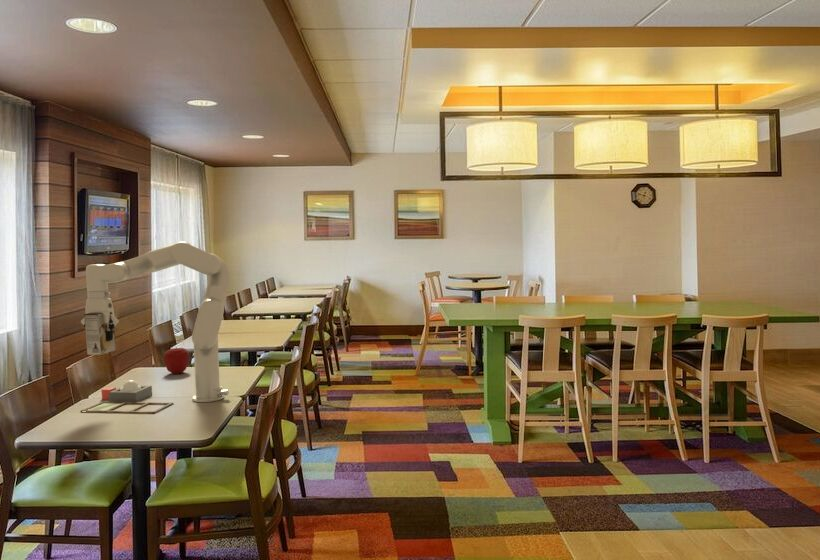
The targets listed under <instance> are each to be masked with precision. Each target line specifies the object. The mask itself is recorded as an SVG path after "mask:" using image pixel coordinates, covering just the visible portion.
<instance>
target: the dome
mask: <svg viewBox="0 0 820 560" xmlns="http://www.w3.org/2000/svg"><path fill="white" fill-rule="evenodd" d="M141 386H142V385H139V384H138V382H137V381H136V380H133V379H129V380H126V381H125V382H124V383H123V385H122V386H121V387H119V388H120V391H129V392H134V391H137V390H139V389H141Z"/></svg>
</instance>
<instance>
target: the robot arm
mask: <svg viewBox="0 0 820 560" xmlns="http://www.w3.org/2000/svg"><path fill="white" fill-rule="evenodd" d="M178 265H182V266H184V267H186V268H189V269H192V270H194V271H195V272H198V273H201V274H203V275H207V277H208V281H207V285H206V289H205V293H204V296H203V300H202V301H201V304H200V306H199V308H198V311H197V314H196V315H197V316H196V319H195V323H194V327H193V329H192V330H193V331H192V334H191V340H192V343H193V358H194V361H193V363H194V380H195V381H194V383H195V384H194V385H195V395H193V396H192V397H191V400H192V401H193V402H195V403H210V402H218V401H220V400H223V399H224V398H225V396H229V394H230V392H229V389H223V386H221V385H220V384H221V383H220V366H219V365H220V363H219V361H220V360H219V359H220V357H219V332H220V328H221V324H222V320H223V316H224V313H225V305H226V300H227V296H228V290H229V286H230V280H231V278H230V277H231V275H230V270H229V268H228V266H227V264H226V262H225V261H224V260H223V259H222V258H221V257H220V256H218V255H217V254H215V253H211V252H207V251H205V250H204V249H200V248H198V247H196V246H194V245H192V244H191V243H189V242H188V241H179V242H176V243H172V244H169V245H166V246H165V245H164V246H163V247H159V248H156V249H153V250H149V251H147V252H145V253H144V254H141V255H138V256H135V257H133V258H130V259H127V260H122V261H119V262H114V263H109V264H104V263H96V264H95V263H92V264H87V266H86V267H85V276H86V277H85V278H86V279H85V281H86V292H87V294H86V295H87V299H85V300H86V301H85V308H84V309H85V310H84V314H88V313H102V314H103V321H104V324H105V327H106V329H107V331H106V341H111V340H112V338H113V333H112V330H114V331H115V329H116V328H115V327H117V325H118V324H119V323H120V320H119V319H118V318H117V317H116V315H115V309H114V305H113V304H114V303H113V300H112V298H110V297H111V295H112V293H111V292H110V291H109V283H120V282H123V281H126V280H129V279H133V278H134V277H135V278H136V277H139V276H142V275H146V274H149V273H156V272H159V271H163V270H165V269H166V270H167V269H169V268H172V267H175V266H178ZM80 323H81V325H82V326H83V327H84V328H85V316H84V317H83V318H82V319H81V320H80ZM111 323H113V324H111Z"/></svg>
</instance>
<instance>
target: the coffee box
mask: <svg viewBox="0 0 820 560" xmlns="http://www.w3.org/2000/svg"><path fill="white" fill-rule="evenodd" d="M83 315H84V317H85V327H84V328H85V339H86V341H85V342H86V352H87V353H86V354H87V355H89V356H90V355H93V356H94V355H98V356H99V355H104V354H105V355H106V354H107V353H111V352H115V351H116V350H117V348H116V339H115V338H116V336H115V329H114V330H112V333H113V338H112V340H111V341H106V331H107V329H106V327H105V324H104V321H103V314H102V313H88V314H85V313H84V314H83ZM111 324H113V323H111Z"/></svg>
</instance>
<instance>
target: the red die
mask: <svg viewBox="0 0 820 560" xmlns="http://www.w3.org/2000/svg"><path fill="white" fill-rule="evenodd" d="M116 389H117V387H111V386H110V387H105V388H102V389H101V400H109V392H111V391H113V390H116Z"/></svg>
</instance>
